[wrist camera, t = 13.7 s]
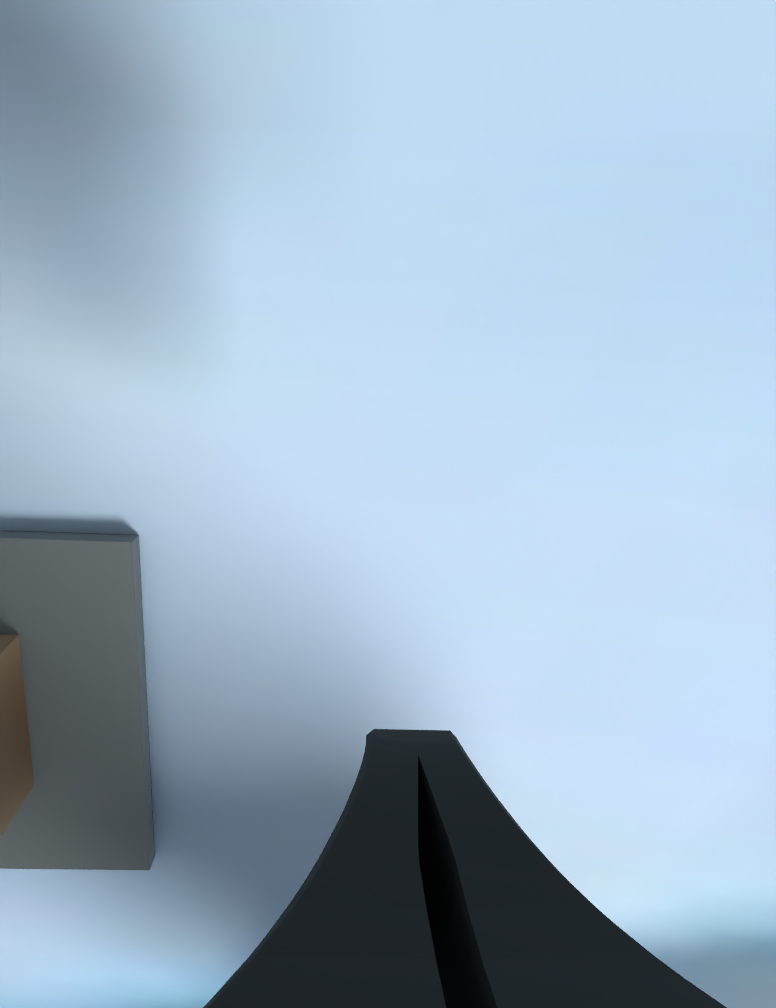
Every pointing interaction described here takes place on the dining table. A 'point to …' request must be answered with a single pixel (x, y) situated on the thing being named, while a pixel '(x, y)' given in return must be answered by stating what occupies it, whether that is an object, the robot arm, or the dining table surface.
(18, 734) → the slab
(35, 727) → the mat
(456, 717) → the dining table surface
